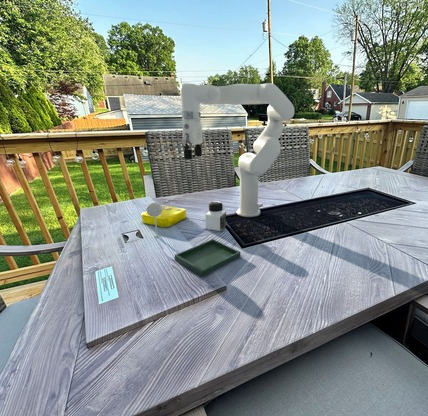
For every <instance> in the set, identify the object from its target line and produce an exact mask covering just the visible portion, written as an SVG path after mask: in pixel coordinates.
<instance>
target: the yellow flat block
mask: <svg viewBox="0 0 428 416" xmlns="http://www.w3.org/2000/svg"><path fill="white" fill-rule="evenodd" d="M160 205H161V206H162V212H161V214H160V215H159V216H156V225H157V227H159V228H169V227H171V226H172V227H173V226H174V225H176V224H177V223H180V222H181V221H183V220H185V219H186V218H187V210H186V208H181V207H176V206H171V205H166V204H160ZM141 222H142V224H146V225H149V226H155V218H154V217H152V216H150V215H148V214H147V212H146V211H143V212H142V213H141Z"/></svg>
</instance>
